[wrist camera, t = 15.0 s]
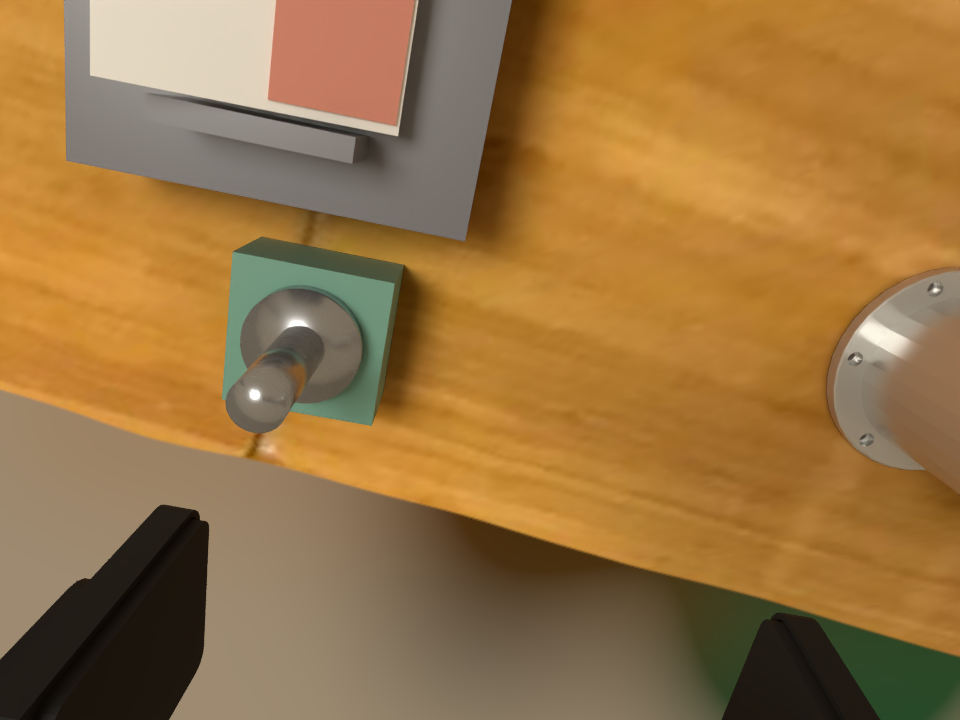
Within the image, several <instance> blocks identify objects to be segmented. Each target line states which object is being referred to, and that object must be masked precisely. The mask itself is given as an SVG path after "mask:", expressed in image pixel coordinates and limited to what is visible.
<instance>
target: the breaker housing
mask: <svg viewBox="0 0 960 720" xmlns="http://www.w3.org/2000/svg"><path fill="white" fill-rule="evenodd" d="M511 3H512V0H418V7H417V14H416V20H415V27H414V33H413V40H412V47H411V53H410V60H409V66H408V73H407V80H406V86H405V93H404V99H403V106H402V113H401V119H400V126H399V133H398V136H394V135H388V134H383V133H378V132H373V131H368V130H363V129H358V128H353V127H348V126H343V125H338V124H333V123H328V122H323V121H318V120H313V119H308V118H303V117H298V116H293V115H287V114H282V113H277V112H272V111H267V110H262V109H257V108H252V107H247V106H242V105H237V104H232V103H227V102H222V101H217V100H212V99H207V98H202V97H197V96H192V95H187V94H181V93H176V92H171V91H166V90H161V89H156V88H151V87H146V86H141V85H136V84H131V83H126V82H121V81H116V80H111V79H106V78H101V77H96V76H91V75H90V0H64V32H65V100H66V161H71V162H75V163H80V164H85V165H90V166H95V167H100V168H105V169H110V170H115V171H120V172H125V173H130V174H135V175H140V176H145V177H150V178H154V179H159V180H164V181H169V182H174V183H179V184H184V185H189V186H194V187H199V188H204V189H209V190H214V191H219V192H224V193H229V194H233V195H238V196H243V197H248V198H253V199H258V200H263V201H268V202H273V203H278V204H283V205H288V206H293V207H298V208H303V209H308V210H313V211H317V212H322V213H327V214H332V215H337V216H342V217H347V218H352V219H357V220H362V221H367V222H372V223H377V224H382V225H387V226H392V227H396V228H401V229H406V230H411V231H416V232H421V233H426V234H431V235H436V236H441V237H446V238H451V239H456V240H461V241H465V239H466V234H467V229H468V223H469V218H470V213H471V208H472V203H473V198H474V193H475V188H476V182H477V177H478V172H479V167H480V162H481V157H482V152H483V147H484V141H485V136H486V131H487V126H488V121H489V116H490V111H491V106H492V101H493V95H494V90H495V85H496V80H497V75H498V70H499V65H500V60H501V54H502V49H503V44H504V39H505V34H506V29H507V24H508V19H509V13H510V8H511Z"/></svg>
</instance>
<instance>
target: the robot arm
mask: <svg viewBox="0 0 960 720" xmlns="http://www.w3.org/2000/svg"><path fill="white" fill-rule="evenodd" d="M826 394H827V400H828V406H829V411H830V414H831V416H832V418H833V421H834V423H835V426H836V427H837V428H838V430H839V431H840V433H841V434H842V435H843V437H844V438H845V439H846V440H847V441H848V442H849V443H850V444H851V445H852V446H853V447H855V448H856V449H857V450H858V451H859V452H861V453H862V454H864V455H865V456H867V457H868V458H870V459H871V460H873V461H875V462H878V463H880V464H883V465H885V466H888V467H892V468H898V469H903V470H927V471H929V472H930V473H931V474H933V475H934V476H935V477H936V478H938V479H939V480H940V481H942V482H943V483H944V484H946V485H947V486H948V487H950V488H951V489H952V490H954V491H955V492H956V493H957V494H959V495H960V267H949V268H943V269H937V270H931V271H927V272H924V273H922V274H919V275H916V276H913V277H910V278H907V279H906V280H904V281H902V282H900V283H898V284H896V285H895V286H893V287H891V288H889V289H887V290H886V291H885V292H883V293H882V294H881V295H879V296H878V297H877V298H875V299H874V300H873V301H872V302H870V303H869V304H868V305H867V306H866V307H865V308H864V309H863V310H862V311H861V312H860V313H859V314H858V315H857V316H856V318H855V319H854V320H853V321H852V322H851V324H850V325H849V327H848V328H847V330H846V331H845V333H844V334H843V335H842V337H841V339H840V341H839V343H838V345H837V347H836V349H835V352H834V354H833V356H832V360H831V363H830V367H829V371H828V375H827V392H826ZM208 540H209V525H208V522H206V521H201V520H200V516H199V513H198V511H196V510H191V509H185V508H180V507H174V506H169V505H160V506H159V507H157V508H156V509H155V510H154V511H153V512H152V514H151V515H150V516H149V517H148V518H147V519H146V520H145V521H144V522H143V523H142V524H141V525H140V527H139V528H138V529H137V530H136V531H135V532H134V533H133V534H132V535H131V536H130V537H129V538H128V539H127V541H126V542H125V543H124V544H123V545H122V546H121V547H120V548H119V549H118V550H117V551H116V552H115V553H114V554H113V556H112V557H111V558H110V559H109V560H108V561H107V562H106V563H105V564H104V565H103V566H102V567H101V569H100V570H99V571H98V572H97V573H96V574H95V575H94V576H93V577H92V578H91V579H86V578H84V579H81V580H79V581H77V582H76V583H74V584H73V585H72V586H71V587H70V588H69V589H68V590H67V591H66V592H65V593H64V594H63V595H62V596H61V597H60V598H59V599H58V600H57V601H56V602H55V603H54V604H53V605H52V606H51V607H50V608H49V609H48V610H47V611H46V613H45V614H44V615H43V616H42V617H41V618H40V619H39V620H38V621H37V622H36V623H35V624H34V625H33V626H32V627H31V628H30V629H29V630H28V631H27V632H26V633H25V634H24V635H23V636H22V638H21V639H20V640H19V641H18V642H17V643H16V644H15V645H14V646H13V647H12V648H11V649H10V650H9V651H8V652H7V653H6V654H5V655H4V656H3V657H2V658H1V659H0V720H169V719H170V717H171V715H172V714H173V712H174V710H175V708H176V707H177V705H178V703H179V701H180V699H181V698H182V696H183V694H184V693H185V691H186V689H187V687H188V686H189V684H190V682H191V680H192V679H193V677H194V675H195V673H196V671H197V669H198V667H199V665H200V662H201V658H202V655H203V649H204V631H205V608H206V586H207V564H208ZM722 720H880V719H879V717H878V716H877V714H876V712H875V711H874V709H873V708H872V706H871V705H870V703H869V702H868V700H867V698H866V697H865V696H864V694H863V692H862V691H861V689H860V687H859V686H858V684H857V683H856V681H855V680H854V678H853V677H852V675H851V674H850V672H849V670H848V669H847V667H846V666H845V664H844V662H843V661H842V659H841V658H840V656H839V655H838V653H837V651H836V650H835V648H834V647H833V645H832V643H831V642H830V640H829V639H828V637H827V636H826V634H825V632H824V631H823V629H822V628H821V626H820V625H819V624H818V622H817V621H816V620H814V619H812V618H808V617H802V616H797V615H791V614H785V613H776V614H775V615H773V617H772V618H771V620H764V621H763V622H762V624H761V625H760V628H759V630H758V632H757V635H756V638H755V640H754V642H753V645H752V647H751V649H750V652H749V654H748V657H747V660H746V662H745V664H744V667H743V669H742V672H741V674H740V676H739V679H738V681H737V683H736V686H735V688H734V691H733V693H732V696H731V698H730V701H729V703H728V706H727V708H726V710H725V713H724V715H723V718H722Z"/></svg>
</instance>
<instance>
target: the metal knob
mask: <svg viewBox="0 0 960 720" xmlns="http://www.w3.org/2000/svg"><path fill="white" fill-rule="evenodd" d="M240 348H241V354H242V358H243V361H244V363H245V366H246V368H247V371H246V372H245V373H244V374H243V375H242V376H241V377H240V378H239V379H238V380H237V381H236V382H235V383H234V385H233V386H232V387H231V388H230V389H229V391H228V393H227V396H226V409H227V412H228V415H229V416H230V418H231V419H232V421H233V422H234V423H235V424H236V425H238V426H239V427H240V428H242V429H244V430H246V431H249V432H253V433H266V432H270V431H272V430H274V429H276V428H277V427H278V426H279V425H280V424H281V423H282V422H283V420H284V419H285V417H286V416H287V414H288V413H289V411H290V409H291V408H292V406H293V405H294V403H318V402H322V401H325V400H328V399H330V398H332V397H334V396H336V395H338V394H339V393H340V392H342V391H343V390H344V389H345V388H346V387H347V386H348V385H349V384H350V383H351V381H352V380H353V378H354V377H355V375H356V373H357V371H358V369H359V367H360V364H361V361H362V358H363V353H364V338H363V333H362V329H361V326H360V324H359V322H358V320H357V318H356V316H355V315H354V313H353V312H352V310H351V309H350V308H349V307H348V306H347V305H346V304H345V303H344V302H343V301H342V300H341V299H339V298H338V297H337V296H335V295H333V294H332V293H330V292H328V291H326V290H323V289H321V288H317V287H313V286H306V285H294V286H288V287H284V288H280V289H278V290H276V291H274V292H272V293H270V294H268V295H267V296H266V297H265V298H263V299H262V300H261V301H260V302H258V303H257V304H256V305H255V306H254V307H253V308H252V309H251V311H250V312H249V314H248V315H247V317H246V319H245V321H244V323H243V326H242V329H241V335H240Z"/></svg>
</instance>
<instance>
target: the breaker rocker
mask: <svg viewBox="0 0 960 720" xmlns="http://www.w3.org/2000/svg"><path fill="white" fill-rule="evenodd" d="M417 7H418V0H90V75H91V76H96V77H101V78H106V79H111V80H116V81H121V82H126V83H131V84H136V85H141V86H146V87H151V88H156V89H161V90H166V91H171V92H176V93H181V94H187V95H192V96H197V97H202V98H207V99H212V100H217V101H222V102H227V103H232V104H237V105H242V106H247V107H252V108H257V109H262V110H267V111H272V112H277V113H282V114H287V115H293V116H298V117H303V118H308V119H313V120H318V121H323V122H328V123H333V124H338V125H343V126H348V127H353V128H358V129H363V130H368V131H373V132H378V133H383V134H388V135H394V136H398V133H399V126H400V119H401V113H402V106H403V99H404V93H405V86H406V80H407V73H408V66H409V60H410V53H411V47H412V40H413V33H414V27H415V20H416V14H417Z"/></svg>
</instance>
